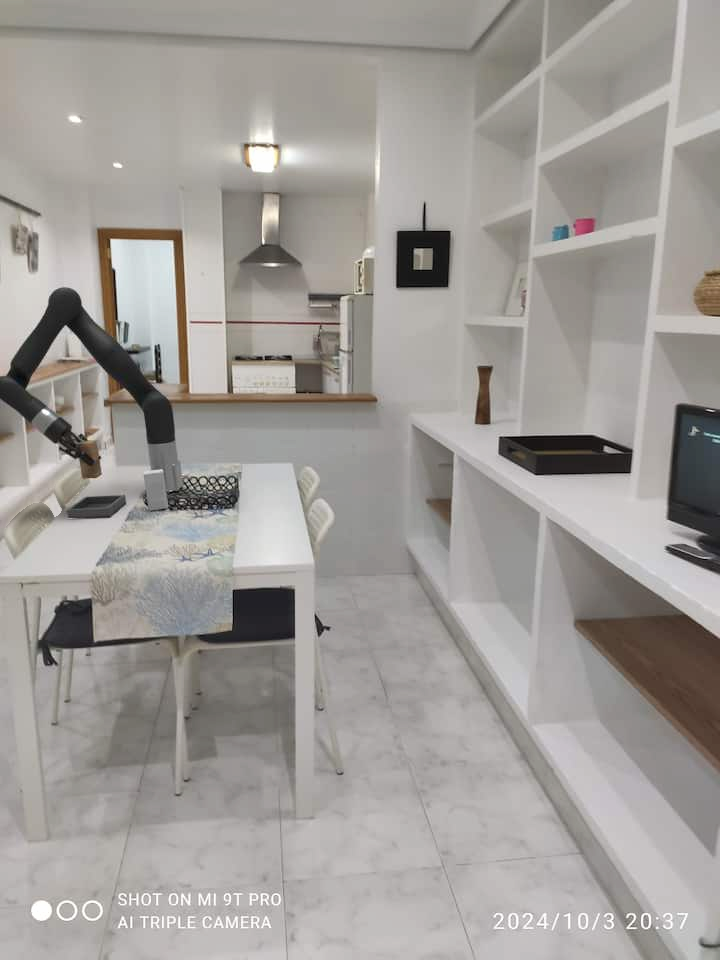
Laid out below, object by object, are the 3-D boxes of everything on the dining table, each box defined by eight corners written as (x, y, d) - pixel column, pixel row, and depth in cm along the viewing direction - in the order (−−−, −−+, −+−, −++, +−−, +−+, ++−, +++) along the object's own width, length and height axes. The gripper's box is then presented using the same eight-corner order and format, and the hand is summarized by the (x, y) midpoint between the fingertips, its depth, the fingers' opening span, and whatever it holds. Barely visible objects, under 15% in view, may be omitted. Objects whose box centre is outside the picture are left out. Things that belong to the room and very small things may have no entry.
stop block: (101, 474, 220) (96, 440, 217) (96, 478, 216) (90, 443, 213) (88, 474, 220) (82, 440, 217) (82, 478, 216) (76, 443, 213)
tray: (126, 503, 228) (125, 494, 227) (110, 517, 214) (108, 508, 213) (87, 505, 228) (85, 496, 227) (68, 519, 215) (66, 509, 214)
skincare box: (167, 504, 224) (162, 468, 221) (168, 508, 220) (163, 471, 217) (148, 507, 222) (143, 471, 219) (148, 511, 218) (143, 474, 215)
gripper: (47, 420, 206) (94, 458, 209) (69, 412, 220) (112, 448, 223) (33, 439, 208) (79, 476, 211) (55, 429, 222) (98, 465, 224)
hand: (96, 461), depth 217 cm, fingers closed on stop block, 4 cm apart
